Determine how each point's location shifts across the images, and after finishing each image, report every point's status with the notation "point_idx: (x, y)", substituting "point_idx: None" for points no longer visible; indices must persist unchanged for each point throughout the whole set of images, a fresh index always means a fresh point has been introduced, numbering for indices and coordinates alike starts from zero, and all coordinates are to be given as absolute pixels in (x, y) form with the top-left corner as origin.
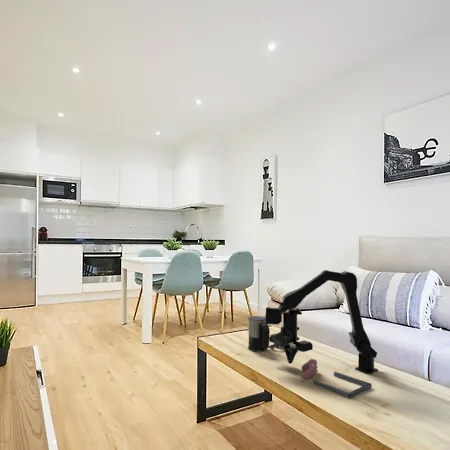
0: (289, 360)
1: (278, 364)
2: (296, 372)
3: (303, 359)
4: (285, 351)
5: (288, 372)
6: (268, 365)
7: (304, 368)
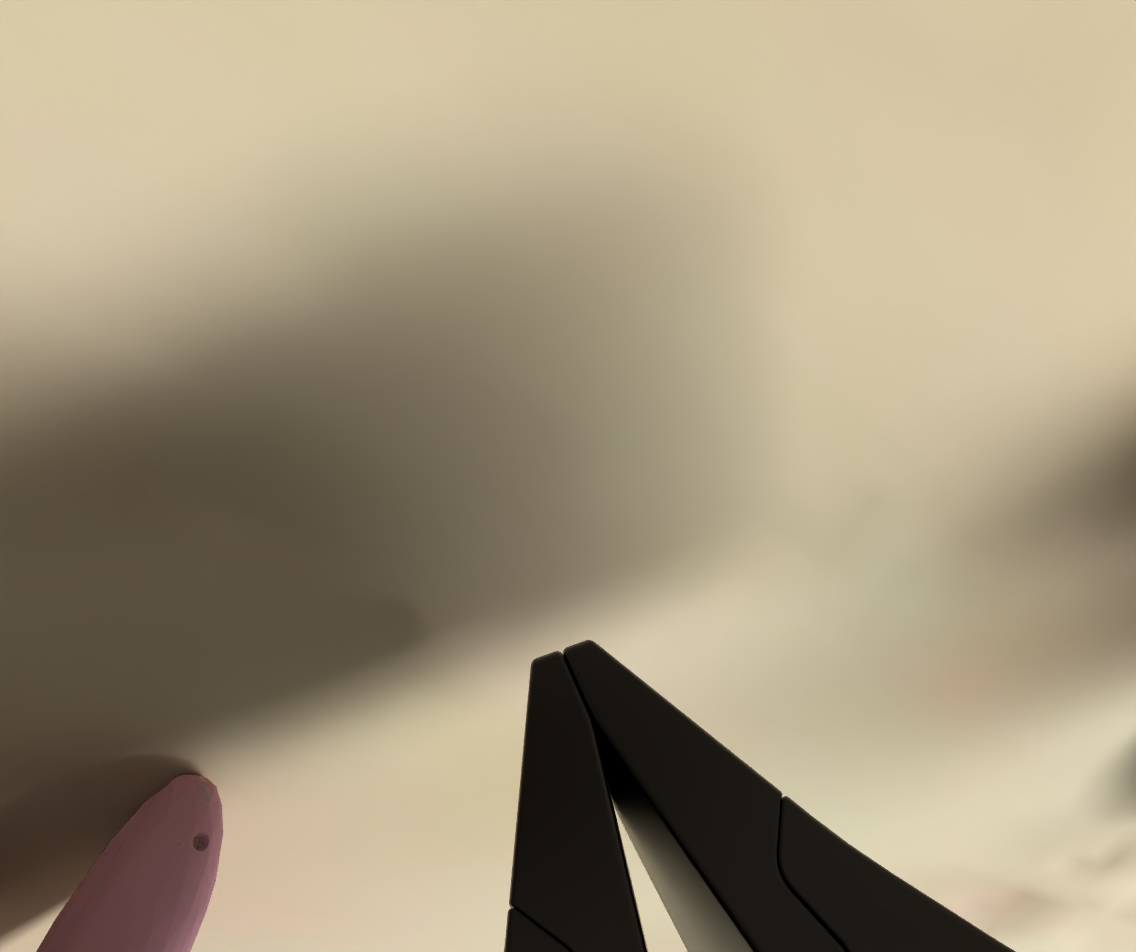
0: (564, 720)
1: (844, 413)
2: (69, 589)
3: None
4: (880, 939)
5: (129, 357)
6: (981, 74)
7: (116, 861)
